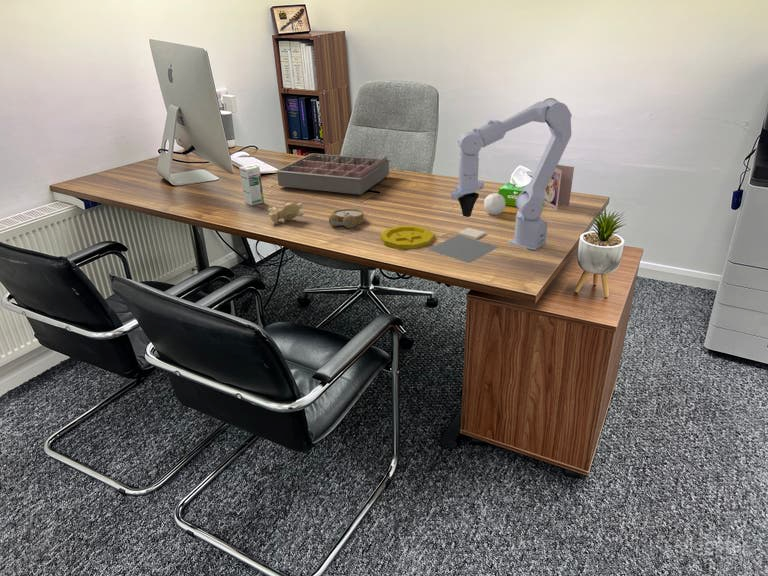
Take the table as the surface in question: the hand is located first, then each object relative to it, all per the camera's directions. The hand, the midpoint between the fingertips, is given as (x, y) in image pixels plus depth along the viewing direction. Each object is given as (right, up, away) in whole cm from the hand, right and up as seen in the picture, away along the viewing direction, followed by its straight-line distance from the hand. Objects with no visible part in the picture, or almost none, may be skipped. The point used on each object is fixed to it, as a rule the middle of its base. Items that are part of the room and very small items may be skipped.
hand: (466, 216), depth 175 cm
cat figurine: (-61, +1, +27) cm, 67 cm away
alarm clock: (-39, 0, +25) cm, 46 cm away
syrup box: (-78, +11, +48) cm, 92 cm away
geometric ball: (+14, +4, +30) cm, 33 cm away
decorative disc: (-18, -7, +10) cm, 22 cm away
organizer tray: (-47, +23, +70) cm, 87 cm away
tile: (+1, -6, +9) cm, 11 cm away
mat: (-1, -10, +1) cm, 10 cm away
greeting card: (+39, +9, +37) cm, 54 cm away
